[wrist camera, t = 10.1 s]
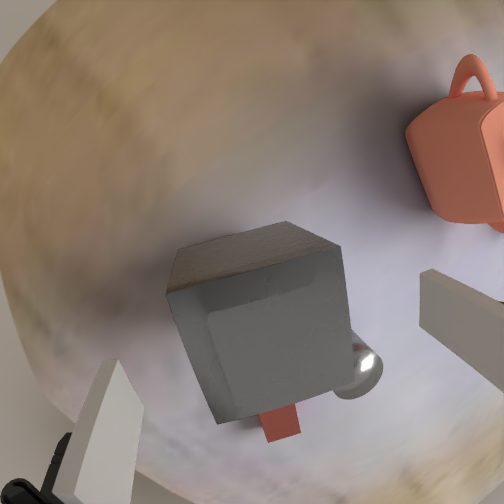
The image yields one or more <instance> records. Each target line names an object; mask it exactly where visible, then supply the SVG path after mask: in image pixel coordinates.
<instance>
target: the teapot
mask: <svg viewBox="0 0 504 504" xmlns="http://www.w3.org/2000/svg"><path fill="white" fill-rule="evenodd" d="M474 75H475V76H476V77H477V79H478V80H479V82H480V84H481V87H482V89H483V91H474V92H466V93H462V91H463V89H464V87H465V85H466V83H467V82H468V81H469V79H470V78H471V77H472V76H474ZM405 137H406V141H407V144H408V147H409V150H410V152H411V155H412V158H413V160H414V163H415V166H416V169H417V171H418V174H419V177H420V179H421V182H422V185H423V187H424V190H425V192H426V195H427V198H428V200H429V202H430V205H431V207H432V209H433V211H434V212H435V213H436V214H437V215H438V216H440V217H441V218H442V219H444V220H446V221H449V222H454V223H464V224H479V223H487V224H488V225H489V226H491V227H492V228H493V229H495V230H497V231H499V232H501V233H504V92H497V91H496V89H495V87H494V84H493V81H492V79H491V76H490V74H489V72H488V70H487V68H486V66H485V64H484V63H483V62H482V60H481V59H480V58H478V57H477V56H476V55H473V54H470V55H466V56H465V57H463V58H462V60H461V61H460V62H459V64H458V65H457V68H456V70H455V73H454V77H453V80H452V84H451V88H450V92H449V96H448V97H446V98H443V99H441V100H439V101H437V102H436V103H434V104H433V105H431V106H430V107H428V108H427V109H426V110H424V111H423V112H422V113H421V114H420V115H418V116H417V117H416V118H415V119H414V120H413V121H412V122H411V123H410V124H409V125H408V127H407V128H406V131H405Z"/></svg>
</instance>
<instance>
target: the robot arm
mask: <svg viewBox="0 0 504 504" xmlns="http://www.w3.org/2000/svg"><path fill="white" fill-rule="evenodd" d="M419 326H420V327H421V328H422V329H424V330H425V331H426V332H428V333H429V334H430V335H432V336H433V337H434V338H435V339H437V340H438V341H439V342H441V343H442V344H443V345H445V346H446V347H447V348H448V349H450V350H451V351H452V352H454V353H455V354H456V355H457V356H459V357H460V358H461V359H462V360H464V361H465V362H466V363H468V364H469V365H470V366H471V367H473V368H474V369H475V370H476V371H478V372H479V373H480V374H481V375H483V376H484V377H485V378H486V379H487V380H489V381H490V382H491V383H492V384H494V385H495V386H496V387H497V388H499V389H500V390H501V391H502V392H503V393H504V302H500V301H496V300H495V299H493V298H491V297H489V296H487V295H485V294H483V293H481V292H479V291H477V290H475V289H473V288H471V287H469V286H467V285H465V284H463V283H461V282H459V281H457V280H455V279H453V278H451V277H449V276H446V275H444V274H442V273H440V272H438V271H436V270H434V269H430V270H427V271H425V272H422V273H420V320H419ZM143 413H144V407H143V405H142V403H141V401H140V400H139V398H138V396H137V394H136V392H135V390H134V389H133V387H132V385H131V383H130V381H129V379H128V377H127V375H126V373H125V371H124V369H123V367H122V365H121V363H120V361H119V359H115V360H110V361H104V362H102V364H101V366H100V368H99V370H98V373H97V375H96V377H95V379H94V382H93V384H92V386H91V389H90V391H89V393H88V396H87V398H86V400H85V403H84V405H83V408H82V410H81V412H80V415H79V417H78V420H77V422H76V425H75V428H74V431H73V433H66V434H65V435H64V437H63V438H62V439H61V440H60V441H59V442H58V445H57V447H56V450H55V452H54V454H55V455H54V456H53V458H52V460H51V464H50V465H49V468H48V471H47V474H46V477H45V479H44V482H43V485H42V488H41V491H40V492H39V491H38V490H37V489H36V488H35V487H34V486H33V485H32V484H31V483H30V482H29V481H27V480H25V479H21V478H18V479H14V480H11V481H10V482H9V483H7V484H6V485H5V487H4V488H3V490H2V492H1V496H0V498H1V503H2V504H130V502H131V493H132V485H133V477H134V470H135V463H136V456H137V449H138V443H139V437H140V431H141V425H142V419H143Z"/></svg>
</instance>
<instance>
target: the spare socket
mask: <svg viewBox="0 0 504 504" xmlns="http://www.w3.org/2000/svg"><path fill="white" fill-rule="evenodd" d="M351 336H352V347H353V360H354V374H355V381H354V382H352V383H349V384H347V385H344V386H342V387H339V388H337V389H334V390H333V391H334V393H335V394H336V395H337V396H338V397H339V398H342V399H355V398H358V397H361V396H363V395H365V394H366V393H368V392H369V391H370V390H371V389H372V388H373V387H374V386H375V385H376V384H377V383H378V381H379V379H380V378H381V375H382V372H383V362H382V360H381V358H380V357H379V356H378V355H377V354H376V353H375V352H374V351H373V350H372V349H371V348H370V347H369V346H368V345H367V344H366V343H365V342H364V341H363V340H362V339H361V338H360V337H359V336H358V335H357V334H356V333H355V332H354V331H353V330H352V329H351Z"/></svg>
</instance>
